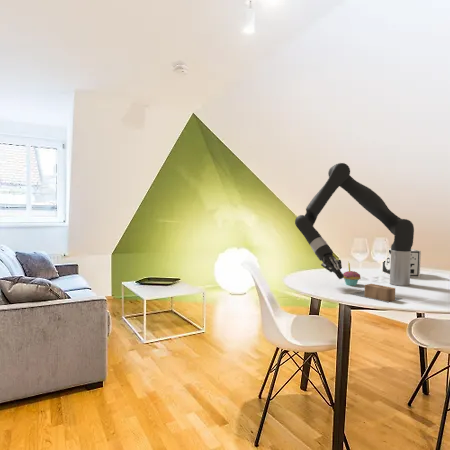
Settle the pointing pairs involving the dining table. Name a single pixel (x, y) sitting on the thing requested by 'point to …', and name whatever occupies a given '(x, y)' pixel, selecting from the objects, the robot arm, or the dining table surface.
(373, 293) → the walnut block
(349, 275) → the cupcake
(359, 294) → the mat
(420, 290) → the dining table surface
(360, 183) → the robot arm
